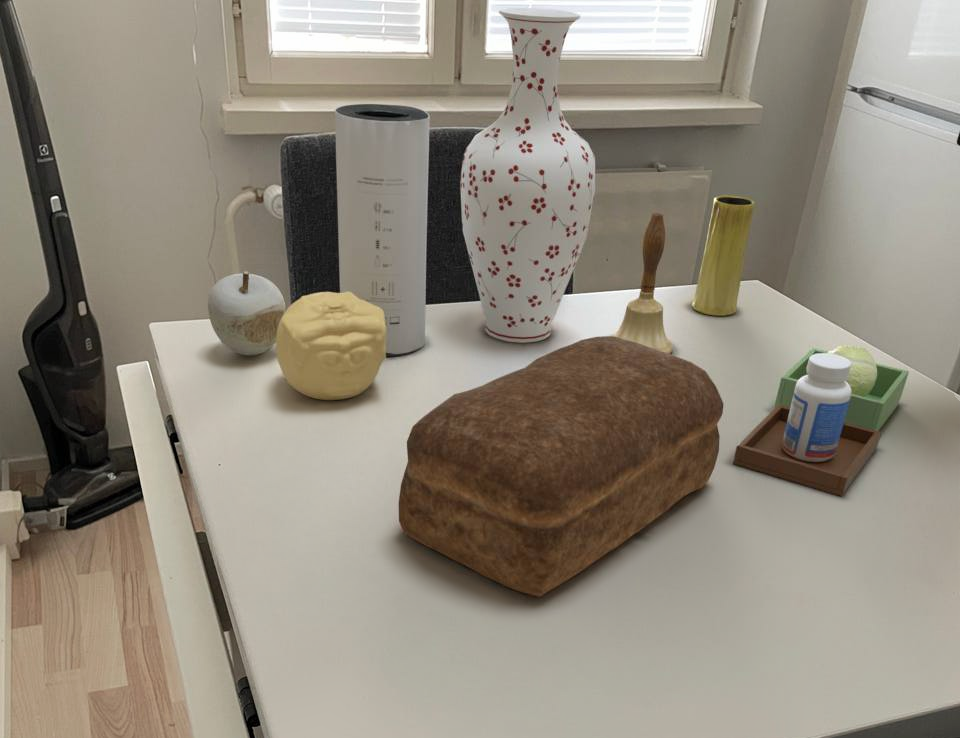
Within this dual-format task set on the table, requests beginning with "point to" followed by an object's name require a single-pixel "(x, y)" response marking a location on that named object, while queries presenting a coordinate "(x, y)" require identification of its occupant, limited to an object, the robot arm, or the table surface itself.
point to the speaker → (384, 214)
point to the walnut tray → (830, 476)
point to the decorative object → (246, 312)
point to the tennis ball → (858, 368)
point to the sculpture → (331, 345)
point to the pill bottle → (818, 409)
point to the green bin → (860, 409)
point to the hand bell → (648, 295)
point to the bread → (559, 460)
